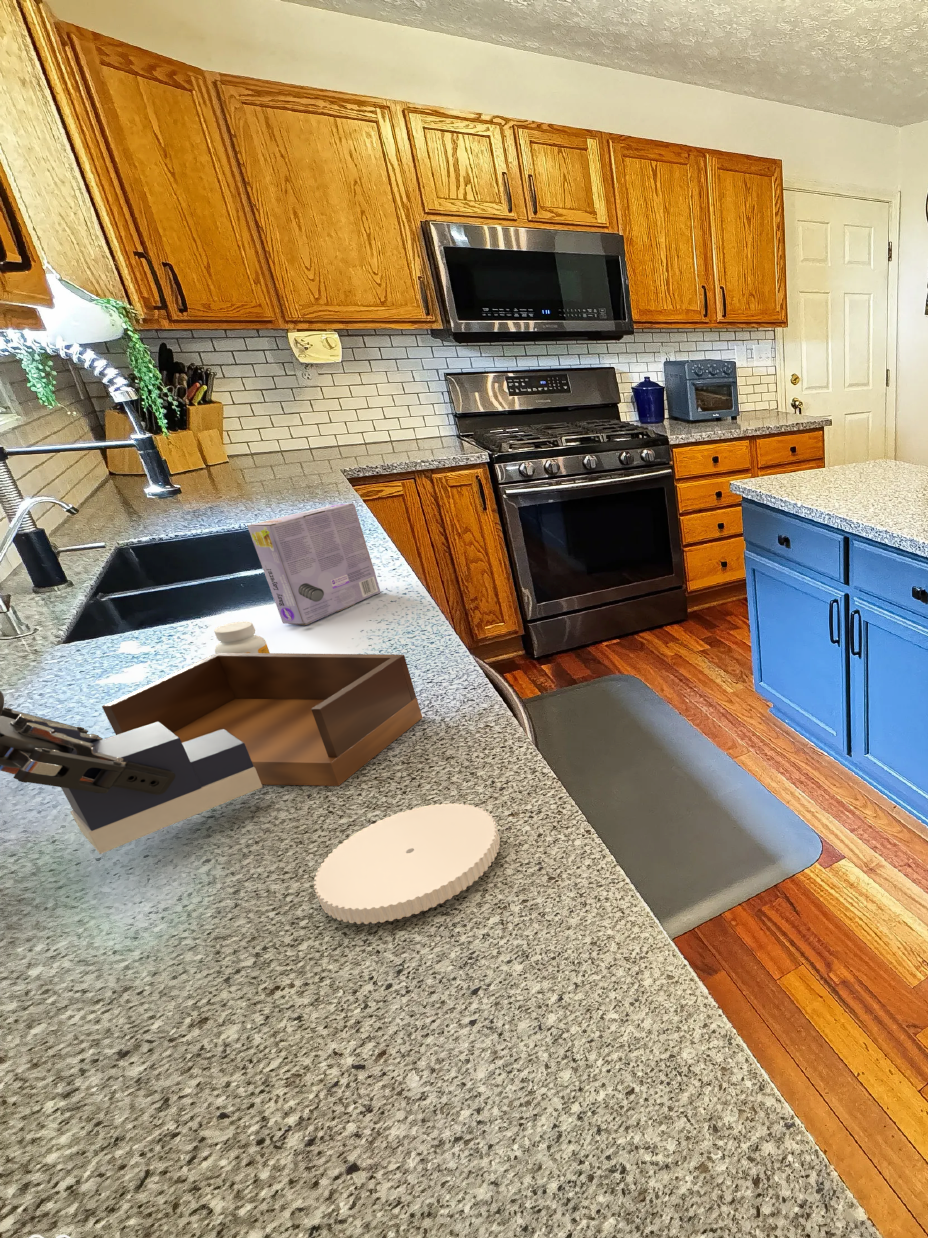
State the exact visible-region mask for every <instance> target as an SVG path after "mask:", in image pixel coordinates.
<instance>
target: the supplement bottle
mask: <svg viewBox="0 0 928 1238" xmlns="http://www.w3.org/2000/svg"><path fill="white" fill-rule="evenodd" d="M213 633H214V636H215V638H216V639H217V641H219V643H218V644H217V645H216V646H215V648H214V652H215V653H214V654H216V653H271V652H270V649H269V646H268V644H267V641H266V639H264V637H262V636H260V635H257V634H256V628H255V625H254V624H253V622H252V621H235V622H230V623H225V624H222V625H220V626H218V627H215V629H214V630H213Z"/></svg>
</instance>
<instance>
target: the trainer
mask: <svg viewBox="0 0 928 1238" xmlns="http://www.w3.org/2000/svg"><path fill="white" fill-rule="evenodd" d="M91 744H94V745H95V746H96V750H97V752H100V753H103V754H107V755H110V756H113V757H120V758H123V759H124V760H126V761H131V762H135V763H140V764H144V765H149V766H154V767H158V768H163V769H167V770H171V771H172V772H173V773H174V774H175V779H174V780H173V782H172V783H171V785H170V786H169V787H168V789H167V790H166V792H165V793H163V794H160V795H155V794H150V793H145V792H140V791H134V790H129V789H124V788H119V787H113V786H111V788H110V789H109V791H108V792H107V793H95V792H91V791H84V790H77V789H70V788H63V787H60V790H62V792H63V795H64V796H65V798H66V800H67V802H68V803H69V806H70V807H71V809H72V810H70V811H69V812H70V814H71V816H72V818H73V819H74V821H75V823H76V826H77V827H78V829H79V831H80V832H81V833H82V835H83V836H84V838H86V840H87V841H88V842H89V843H90V844H91V846H92V847H93V848H94V849H95V850H96V851H97V853H99V855H102V854H104V853H107V852H109V851H111V850H114V849H116V848H119V847H121V846H123V845H126V844H129V843H131V842H133V841H136V840H138V839H140V838H143V837H146V836H148V835H151V834H153V833H155V832H157V831H160V830H162V829H165V828H167V827H170V826H172V825H174V824H177V823H179V822H181V821H182V822H183V821H184V820H187V819H189V818H191V817H194V816H197V815H199V814H201V813H204V812H206V811H209V810H211V809H213V808H217V807H218V806H220V805H223V804H227V803H228V802H230V801H233V800H235V799H238V798H240V797H243V796H246V795H247V794H251V793H252V792H254V791H257V790H259V789H262V788H263V785H262V784H261V782H260V779H259V777H258V774H257V772H256V769H255V767H254V766H253V763H252V761H251V758H250V756H249V753H248V751H247V748H246V746H245V743H243V742H242V741H241V740H239V739H238V738H236V737H235V736H233V735H232V734H231V733H229V732H228V731H226V730H225V729H221V730H218V731H215V732H212V733H210V734H207V735H204V736H201V737H198V738H195V739H192V740H189V741H186V742H184V743H182V742H181V740H180V738H179V737H178V736H176V735H175V734H174V733H173V732H171V731H170V730H169V729H167V728H166V727H165V726H164V725H162V724H161V723H160V722H155V723H152V724H149V725H146V726H143V727H140V728H136V729H133V730H130V731H127V732H124V733H121V734H118V735H116V734H114V735H112V736H108V737H106V738H103V739H102V740H99V741H96V742H93V743H91ZM71 754H74V755H76V754H77V751H76V750H75V749H74V750H73V751H72V753H71ZM101 770H102V769H100V768H94V767H92V768H89V769H88V770H87V771H86V772H85V774H84V775H89V776H94V777H97V775H98V774H99V773H100V771H101Z"/></svg>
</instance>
